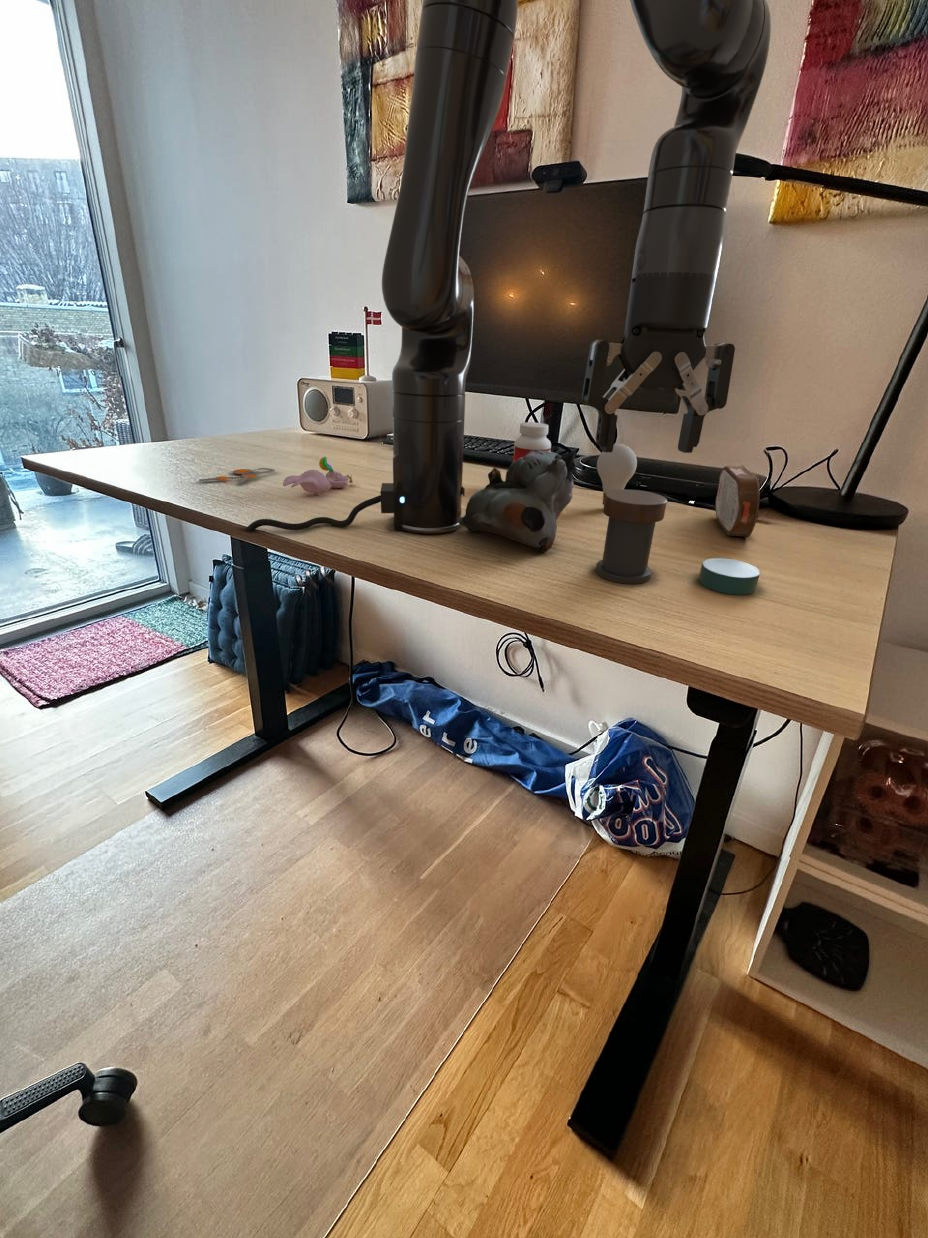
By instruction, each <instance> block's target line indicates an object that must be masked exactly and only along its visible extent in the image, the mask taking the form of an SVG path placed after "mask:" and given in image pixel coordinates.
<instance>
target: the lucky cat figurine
mask: <svg viewBox="0 0 928 1238" xmlns="http://www.w3.org/2000/svg"><path fill="white" fill-rule="evenodd" d="M575 457H576V451H571V452H568V453H566V454H565V455H560V454H558V452H557V453H556V452H554V451H551V452H550V451H541V450H538V451H530V452H529V453H527V454H525V456H524V457H520V458H519V459H518V460H516V461H514V462H513V461H512V463H511V464H510V465H509V466H508V469H507V470H506V473H505V479H504V480H503V478H502V473H501V470H499V469H498V468H496V467H493V468H492V470H490V472H488V474H487V477H488V478H487V479H488V480H489V483H488V484H487V485H485V487H484V488H482V489H480V490H477V491H476V492H474V493H473V494H472V495H471V497H470V498H469V500H468V501H467V503H466V507H465V514H464V516H461V518H460V519H459V520H458V523H459V524H460V525H461V526H462V527H463V528H466V529H467V531H469V532H473V531H480V532H486V533H493V534H496V535H499V536H502V537H505V538H507V539H510V540H512V541H516V542H517V543H521V544H523V545H525V546H526V545H527V546H530V547H533V548H534V549H536V550H538V551H539V552H541V553H547V552H548V551H549V550H550V549H552V547H553V545H554V542H555V540H556V534H557V529H558V528H557V527H558V525H557V521H558V519H559V517H560V515H561V513H562V512H563V511H564V510H565V509H566V507H567V506H568V505H569V504H570V503H571V501H572V499H573V497H574V496H573V488H574V485H575V484H574V483H575V482H574V480H573V476H574V472H575V469H576V463H575Z"/></svg>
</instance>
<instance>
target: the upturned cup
mask: <svg viewBox="0 0 928 1238" xmlns="http://www.w3.org/2000/svg"><path fill="white" fill-rule="evenodd" d="M606 527H607V528H606V534H605V541H604V548H603V554H602V559H600V560H598V562H597V563H596V564H595V573H596V574H597V575H598V576H599V577H601V578H602V579H604V580H607V581H610V582H613V583H617V584H625V585H637V584H644V583H646V582H648V581H650V580H651V578H652V574H653V573H652V568H651V567H650V566H649V565H648V564H649V560H650V554H651V549H652V543H653V538H654V534H655V533H654V532H655V529H656V522H654V523H632V522H625V521H620V520H616V519H613V518H611V517H608V520H607V526H606Z"/></svg>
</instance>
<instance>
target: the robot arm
mask: <svg viewBox="0 0 928 1238" xmlns="http://www.w3.org/2000/svg"><path fill="white" fill-rule="evenodd" d="M518 1H519V0H422V3H421V4H422V5H421V12H420V19H419V27H418V34H417V42H416V43H417V44H416V51H415V59H414V69H413V80H412V87H411V88H412V90H411V98H410V99H411V100H410V106H409V113H408V121H407V129H406V137H405V147H404V156H403V157H404V159H403V167H402V175H401V181H400V187H399V191H398V197H397V201H396V206H395V211H394V215H393V216H394V217H393V220H392V224H391V230H390V234H389V237H388V242H387V247H386V252H385V256H384V261H383V266H382V272H381V292H382V298H383V302H384V305H385V308H386V311H387V312H388V314H389V315H390V317H391V318H392V320H393V321H394V322H395V323H396V324H398V326H400V327H401V346H400V353H399V356H398V359H397V361H396V363H395V365H394V366H393V368H392V371H391V391H392V392H391V393H392V394H391V395H392V442H393V443H392V446H393V447H392V448H393V449H392V450H393V451H392V453H393V456H392V482H381V487H380V494H379V495H377V496H374V497H372V498H368V499H366V500H364V501H362V502H360V503H359V504H357V505H355V506H354V507H353V508H352V510H351V511H350V512H349V515H348V516H347V518H346V519H343V520H338V519H334V518H331V517H327V516H319V517H314V518H311V519H308V520H306V521H304V522H299V523H298V522H297V523H289V522H284V521H280V520H276V519H273V518H272V519H271V518H260V519H256V520H254V521H253V522H251V523H250V524H249V525H248V526H247V527H246V528H245V530H244V532H246V533H249V532H253V531H255V530H256V529H258V528H260V527H264V526H265V527H272V528H273V527H274V528H277V529H281V530H286V531H302V530H305V529H309V528H311V527H313V526H315V525H320V524H321V525H322V524H327V525H331V526H334V527H337V528H345V527H348V526H350V525H351V524H352V523H353V522H354V521H355V519H356V517H357V515H358V514H359V513H360V512H362V510H364V509H366V508H368V507H370V506H373V505H376V504H379V503H380V513H381V514H393V530H395V531H404V532H408V533H415V534H424V535H425V534H426V535H434V534H437V535H438V534H445V533H450V532H454V531H456V530H458V529H460V528H461V526H462V525H460V524H459V523H458V520H459V519H460V518H461V517H462V499H463V497H465V487H464V486H463V473H464V472H463V470H464V443H465V441H464V440H465V416H466V386H467V377H468V373H469V370H470V366H471V359H472V345H473V329H474V316H475V315H474V313H475V288H474V287H475V286H474V280H473V276H472V273H471V270H470V268H469V266H468V264H467V262H466V261H465V260H464V258H463V257H462V256H461V255H460V252H461V241H462V232H463V226H464V218H465V212H466V206H467V205H466V204H467V199H468V195H469V191H470V187H471V184H472V181H473V179H474V176H475V173H476V171H477V167H478V166H479V162H480V160H481V159H482V156H483V153H484V151H485V149H486V147H487V144H488V141H489V140H490V136H491V134H492V132H493V129H494V127H495V124H496V121H497V118H498V115H499V112H500V109H501V106H502V101H503V96H504V93H505V88H506V84H507V78H508V73H509V68H510V63H511V57H512V53H513V47H514V41H515V35H516V31H517V30H516V29H517V23H518V11H519V9H518V8H519V2H518ZM629 2H630V5H631V9H632V12H633V15H634V18H635V20H636V24H637V26H638V28H639V31H640V34H641V37H642V39H643V41H644V43H645V45H646V47H647V49H648V50H649V53H650V55H651V56H652V58H653V59H654V61H655V62H656V64H657V65H658V67H659V68H660V69H661V71H662V72H663V73H664V74H665V75H666V77H668V78H669V79H670V80H671V81H672V82H674V83H675V84H677V85H679V86H680V87H681V96H680V101H679V105H678V110H677V114H676V118H675V121H674V125H673V127H671V128H669V129H668V130H666V131H665V132H663V133H662V134H661V135H660V136H659V137H658V138H657V140H656V142H655V144H654V146H653V149H652V153H651V157H650V163H649V168H648V172H647V173H648V174H647V181H646V188H645V196H644V202H643V203H644V204H643V209H642V213H643V214H642V218H641V223H640V226H639V230H638V234H637V239H636V243H635V250H634V257H633V263H632V272H631V279H630V287H629V295H628V300H627V301H628V302H627V310H626V318H625V324H624V334H623V336H622V339H621V341H620V342H609V341H607V340H604V339H595V340H592V342H591V343H590V345H589V350H588V356H587V361H586V368H585V374H584V380H583V386H582V393H581V402H582V404H584V405H586V406H589V407H592V408H593V409H595V410H596V411H597V413H598V416H597V425H596V434H595V442H596V444H597V445H598V446H599V448H600V451H601V452H602V451H603V452H612V451H613V446H614V444H615V437H616V430H617V424H618V417H619V416H618V414H616V411H617V410H618V409H619V408H620V407H621V405H622V404H623V403H624V402H625V401H626V399H627V398H629V397H630V396H632V395H633V394H634V392H635V391H636V390H637V389H639V390H644V391H653V390H657V389H660V390H664V391H675V393H676V394H677V395H678V396H679V398H680V399H681V401H682V404H683V405H684V408H685V409H686V411H687V412H686V413H683V416H682V421H681V427H680V431H679V432H680V433H679V438H678V443H677V450H678V451H679V452H681V453H684V454H691V453H693V451H694V448H697V447H698V445H699V443H700V441H701V436H702V430H703V424H704V420H705V416H706V415H708V413H710V412H713V411H715V410H721V409H722V410H723V409H724V408H725V407H726V405H727V403H728V397H729V390H730V383H731V379H732V378H731V377H732V371H733V364H734V359H735V351H736V346H735V345H734V344H733V343H727V342H726V343H725V342H717V343H714V344H712V345H711V344H709V345H706V343H705V332H706V330H707V327H708V324H709V319H710V313H711V307H712V302H713V296H714V292H715V287H716V282H717V281H716V280H717V277H718V276H717V275H718V271H719V268H720V265H721V254H722V249H723V244H724V230H725V219H726V218H725V217H726V212H727V207H728V206H727V205H728V200H729V196H730V190H731V185H732V179H733V175H734V174H733V173H734V168H735V162H736V161H735V160H736V155H737V154H736V153H737V150H738V147H739V144H740V142H741V139H742V137H743V135H744V133H745V130H746V128H747V124H748V122H749V119H750V117H751V113H752V110H753V107H754V104H755V102H756V98H757V95H758V93H759V89H760V86H761V83H762V81H763V78H764V77H763V76H764V74H765V69H766V65H767V61H768V56H769V50H770V44H771V31H772V19H771V11H770V7H769V4H768V1H767V0H629ZM615 357H618V359H619V361H620V364H621V365H622V367H623V370H622V371H621V372H620V374H618V375H617V376H616V378H615V380H614V381H613V382H612V383H611V385H610V388H609V389H608V390H607V391H606V392H605V393H604V395H603V396H602V393H603V387H604V381H605V377H606V376H605V375H606V369H607V367H609V366H610V365H612V363H613V362H614V358H615ZM703 360H704V361H705V363H704V364H705V366H706V367H707V368H708V370H707V378H706V384H705V391H704V395H703V393H702V387H701V384H700V382H699V380H698V378H697V375H696V374H695V371H694V370H696V368H697V367H698V365H699V364H700V363H701V362H702V361H703Z"/></svg>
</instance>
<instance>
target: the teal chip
mask: <svg viewBox="0 0 928 1238" xmlns="http://www.w3.org/2000/svg"><path fill="white" fill-rule="evenodd" d="M760 574H761V571H760V570H759V568H757V567H756V566H754V565H753V564H750V563H748V562H744V561H741V560H738V559H731V558H722V557H713V558H712V557H711V558H707V559H705V560H703V561H702V563H701V566H700V571H699V575H698V582H699V584H701V585H702V586H704V587H705V588H707V589H709V590H712V591H714V592H717V593H722V594H726V595H727V594H728V595H737V596H740V595H750V594H752V593H754V592H755V591H756V589H757V586H758V583H759V579H760V576H761V575H760Z"/></svg>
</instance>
